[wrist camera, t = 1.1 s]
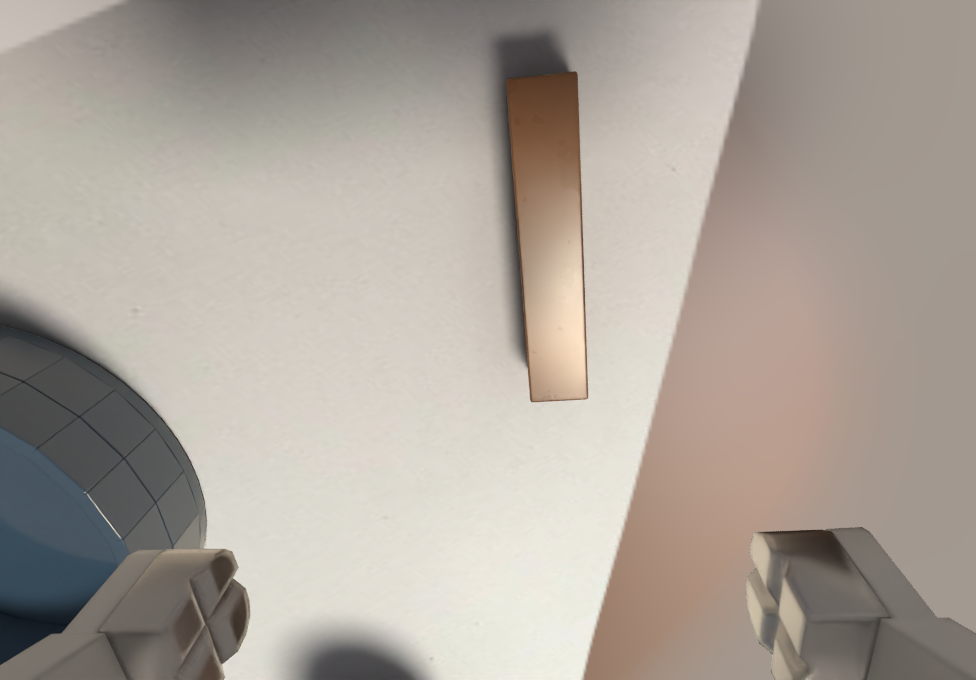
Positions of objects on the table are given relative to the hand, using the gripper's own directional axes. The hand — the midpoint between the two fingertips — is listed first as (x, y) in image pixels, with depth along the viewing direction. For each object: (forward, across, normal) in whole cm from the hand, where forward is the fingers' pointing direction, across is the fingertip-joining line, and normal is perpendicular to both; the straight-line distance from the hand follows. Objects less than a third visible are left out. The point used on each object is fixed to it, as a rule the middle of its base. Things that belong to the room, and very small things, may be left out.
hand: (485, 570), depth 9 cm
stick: (+18, -2, -1) cm, 19 cm away
